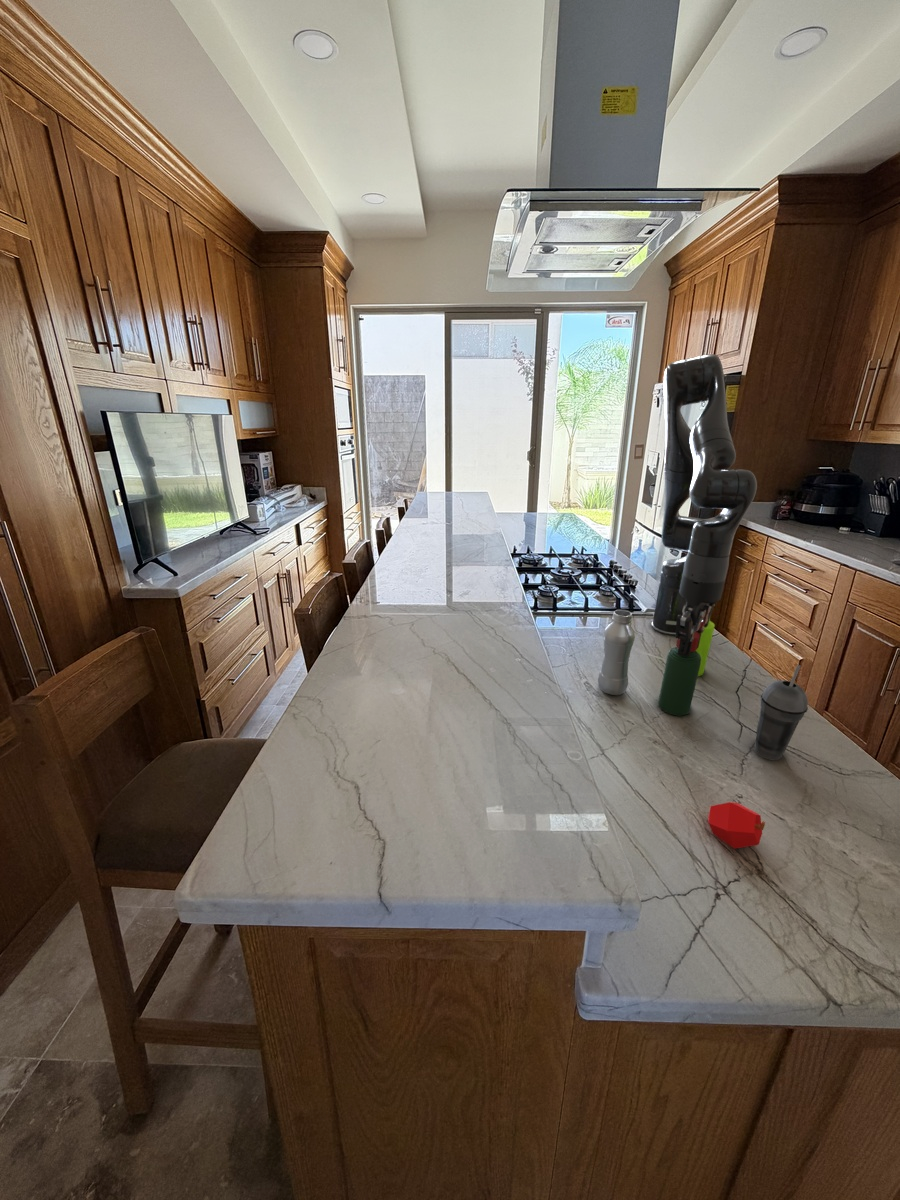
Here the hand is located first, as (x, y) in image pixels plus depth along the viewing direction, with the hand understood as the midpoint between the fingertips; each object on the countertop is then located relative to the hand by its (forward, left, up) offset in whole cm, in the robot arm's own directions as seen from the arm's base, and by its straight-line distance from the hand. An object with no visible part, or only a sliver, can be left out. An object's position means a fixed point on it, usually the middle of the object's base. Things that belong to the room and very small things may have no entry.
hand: (687, 651), depth 101 cm
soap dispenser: (-19, -2, -15) cm, 24 cm away
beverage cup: (+3, +18, -15) cm, 24 cm away
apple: (+29, +17, -15) cm, 37 cm away
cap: (0, 0, +1) cm, 1 cm away
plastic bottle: (+2, -14, -15) cm, 20 cm away
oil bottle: (0, 0, -14) cm, 14 cm away
